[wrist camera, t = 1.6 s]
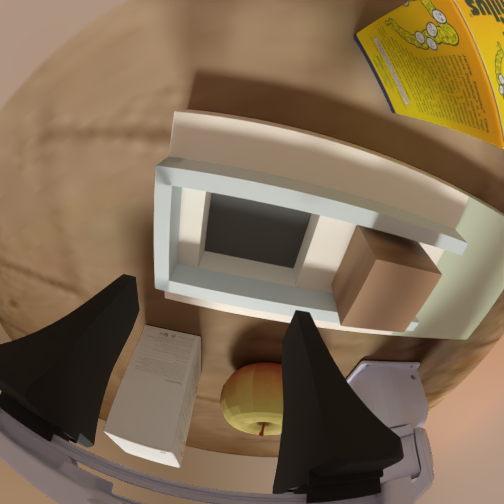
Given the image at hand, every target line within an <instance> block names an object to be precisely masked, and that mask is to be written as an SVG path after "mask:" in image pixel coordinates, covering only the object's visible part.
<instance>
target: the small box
mask: <svg viewBox="0 0 504 504" xmlns="http://www.w3.org/2000/svg"><path fill="white" fill-rule="evenodd" d="M200 376H201V337H200V336H196V335H191V334H186V333H181V332H176V331H172V330H167V329H163V328H158V327H153V326H149V325H145V327H144V329H143V331H142V333H141V335H140V338H139V340H138V342H137V345H136V347H135V350H134V352H133V354H132V357H131V359H130V361H129V364H128V366H127V369H126V371H125V373H124V376H123V378H122V381H121V383H120V386H119V389H118V391H117V394H116V396H115V399H114V402H113V404H112V407H111V410H110V412H109V415H108V418H107V420H106V423H105V426H104V429H103V431H104V432H105V433H106V434H107V435H108V436H109V437H110V438H111V439H112V440H113V441H114V442H115V443H116V444H118V445H119V446H120V447H121V448H122V449H123V450H124V451H125V452H128V453H130V454H133V455H136V456H139V457H142V458H145V459H148V460H152V461H155V462H158V463H162V464H166V465H170V466H174V467H178V468H179V467H180V466H181V462H182V457H183V452H184V447H185V443H186V438H187V434H188V429H189V425H190V420H191V416H192V411H193V406H194V402H195V398H196V393H197V389H198V385H199V381H200Z"/></svg>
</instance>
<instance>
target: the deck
mask: <svg viewBox="0 0 504 504" xmlns="http://www.w3.org/2000/svg"><path fill="white" fill-rule="evenodd" d="M356 225H361V226H365V227H368V228H372V229H376V230H379V231H383V232H387V233H390V234H394V235H397V236H401V237H404V238H408V239H411V240H414V241H418V242H419V244H420V245H421V246H422V248H423V249H424V250H425V252H426V253H427V254H428V256H429V257H430V258H431V260H432V261H433V262H434V264H435V265H436V266H437V268H438V269H439V271H440V272H441V274H442V276H441V278H440V280H439V281H438V283H437V285H436V286H435V288H434V289H433V291H432V293H431V294H430V296H429V297H428V299H427V300H426V302H425V303H424V305H423V306H422V308H421V309H420V311H419V312H418V314H417V315H416V316H415V318H414V319H413V321H412V322H411V323H410V325H409V326H408V327H407V329H406V330H405V331H404V333H403V332H392V331H382V330H372V329H363V328H354V327H346V326H341V325H340V321H339V316H338V312H337V307H336V303H335V299H334V294H333V290H332V286H331V284H332V282H333V279H334V277H335V275H336V273H337V270H338V268H339V266H340V264H341V261H342V259H343V257H344V254H345V252H346V250H347V247H348V245H349V242H350V240H351V237H352V235H353V233H354V230H355V228H356ZM154 273H155V289H159V290H163V291H165V298H166V299H171V300H175V301H179V302H184V303H188V304H193V305H197V306H202V307H206V308H211V309H216V310H221V311H226V312H231V313H236V314H241V315H247V316H252V317H258V318H263V319H269V320H275V321H281V322H287V323H290V322H291V320H292V317H293V315H294V313H295V310H299V311H306V312H310V314H311V316H312V318H313V320H314V323H315V325H316V327H321V328H329V329H337V330H345V331H353V332H362V333H372V334H382V335H394V336H407V337H421V338H440V339H467V338H468V337H469V336H470V335H471V333H472V332H473V331H474V330H475V328H476V327H477V326H478V325H479V323H480V322H481V321H482V319H483V318H484V317H485V315H486V314H487V313H488V311H489V310H490V308H491V307H492V306H493V304H494V303H495V301H496V300H497V298H498V297H499V295H500V294H501V292H502V291H503V289H504V213H502V212H500V211H499V210H497V209H496V208H494V207H492V206H491V205H489V204H487V203H486V202H484V201H482V200H480V199H479V198H477V197H475V196H473V195H471V194H470V193H468V192H466V191H464V190H462V189H460V188H458V187H456V186H454V185H452V184H450V183H448V182H446V181H444V180H442V179H440V178H438V177H436V176H434V175H432V174H429V173H427V172H425V171H423V170H420V169H418V168H416V167H414V166H411V165H409V164H406V163H404V162H401V161H399V160H396V159H394V158H391V157H389V156H386V155H383V154H381V153H378V152H375V151H373V150H370V149H367V148H364V147H361V146H358V145H355V144H352V143H349V142H346V141H343V140H339V139H336V138H333V137H329V136H326V135H322V134H319V133H315V132H311V131H307V130H303V129H300V128H295V127H291V126H287V125H283V124H278V123H274V122H269V121H264V120H259V119H254V118H248V117H242V116H236V115H230V114H224V113H217V112H209V111H201V110H192V109H185V110H179V111H174V118H173V126H172V134H171V143H170V153H169V157H168V158H166V159H165V160H163V161H162V162H160V163H159V164H158V165H156V175H155V196H154Z"/></svg>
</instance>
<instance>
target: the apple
mask: <svg viewBox="0 0 504 504" xmlns="http://www.w3.org/2000/svg"><path fill="white" fill-rule="evenodd" d="M220 405H221V408H222V411H223V414H224V416H225V418H226V420H227V421H228V422H229V424H231V425H232V426H233V427H235V428H237V429H239V430H241V431H244V432H247V433H252V434H258V435H261V436H263V435H277V434H281V432H282V420H283V386H282V364H277V363H271V362H259V363H254V364H249V365H246V366H244V367H242V368H240V369H238V370H237V371H235V372H234V373H233V374H232V375H231V376H230V378H229V379H228V380H227V381H226V383H225V384H224V386H223V389H222V392H221V399H220Z"/></svg>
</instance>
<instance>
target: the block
mask: <svg viewBox="0 0 504 504" xmlns="http://www.w3.org/2000/svg"><path fill="white" fill-rule="evenodd" d="M441 276H442V274H441V272H440V271H439V269H438V268H437V266H436V265H435V264H434V262H433V261H432V260H431V258H430V257H429V256H428V254H427V253H426V252H425V250H424V249H423V248H422V246H421V245H420V244H419V242H418V241H414V240H411V239H408V238H404V237H401V236H397V235H394V234H390V233H387V232H383V231H379V230H376V229H372V228H368V227H365V226H361V225H356V228H355V230H354V233H353V235H352V237H351V240H350V242H349V245H348V247H347V250H346V252H345V254H344V257H343V259H342V261H341V264H340V266H339V268H338V270H337V273H336V275H335V277H334V279H333V282H332V284H331V286H332V290H333V294H334V299H335V303H336V307H337V312H338V316H339V321H340V325H341V326H346V327H354V328H363V329H372V330H382V331H392V332H403V333H404V331H405V330H406V329H407V327H408V326H409V325H410V323H411V322H412V321H413V319H414V318H415V316H416V315H417V314H418V312H419V311H420V309H421V308H422V306H423V305H424V303H425V302H426V300H427V299H428V297H429V296H430V294H431V293H432V291H433V289H434V288H435V286H436V285H437V283H438V281H439V280H440V278H441Z"/></svg>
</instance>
